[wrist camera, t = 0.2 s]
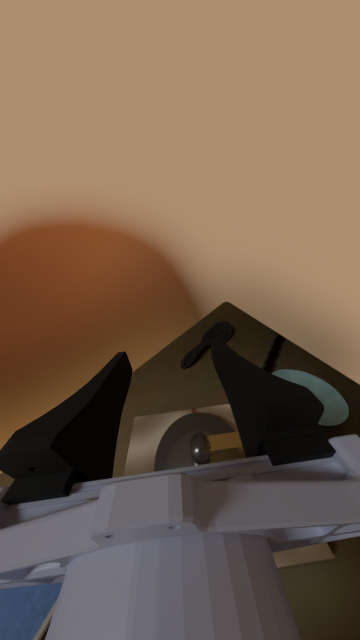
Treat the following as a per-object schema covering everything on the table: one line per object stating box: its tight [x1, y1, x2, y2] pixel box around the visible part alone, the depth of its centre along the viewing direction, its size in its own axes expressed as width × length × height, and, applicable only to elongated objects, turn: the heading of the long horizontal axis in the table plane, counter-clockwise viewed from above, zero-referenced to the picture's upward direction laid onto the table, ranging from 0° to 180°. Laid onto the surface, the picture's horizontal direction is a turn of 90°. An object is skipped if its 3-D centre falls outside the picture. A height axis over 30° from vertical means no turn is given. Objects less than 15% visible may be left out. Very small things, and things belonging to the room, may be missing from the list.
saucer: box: [272, 369, 349, 426], centre depth 29 cm, size 12×12×2 cm
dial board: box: [124, 404, 335, 569], centre depth 21 cm, size 16×22×2 cm
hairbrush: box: [181, 321, 232, 369], centre depth 47 cm, size 8×4×25 cm
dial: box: [154, 412, 246, 472], centre depth 20 cm, size 13×13×5 cm
